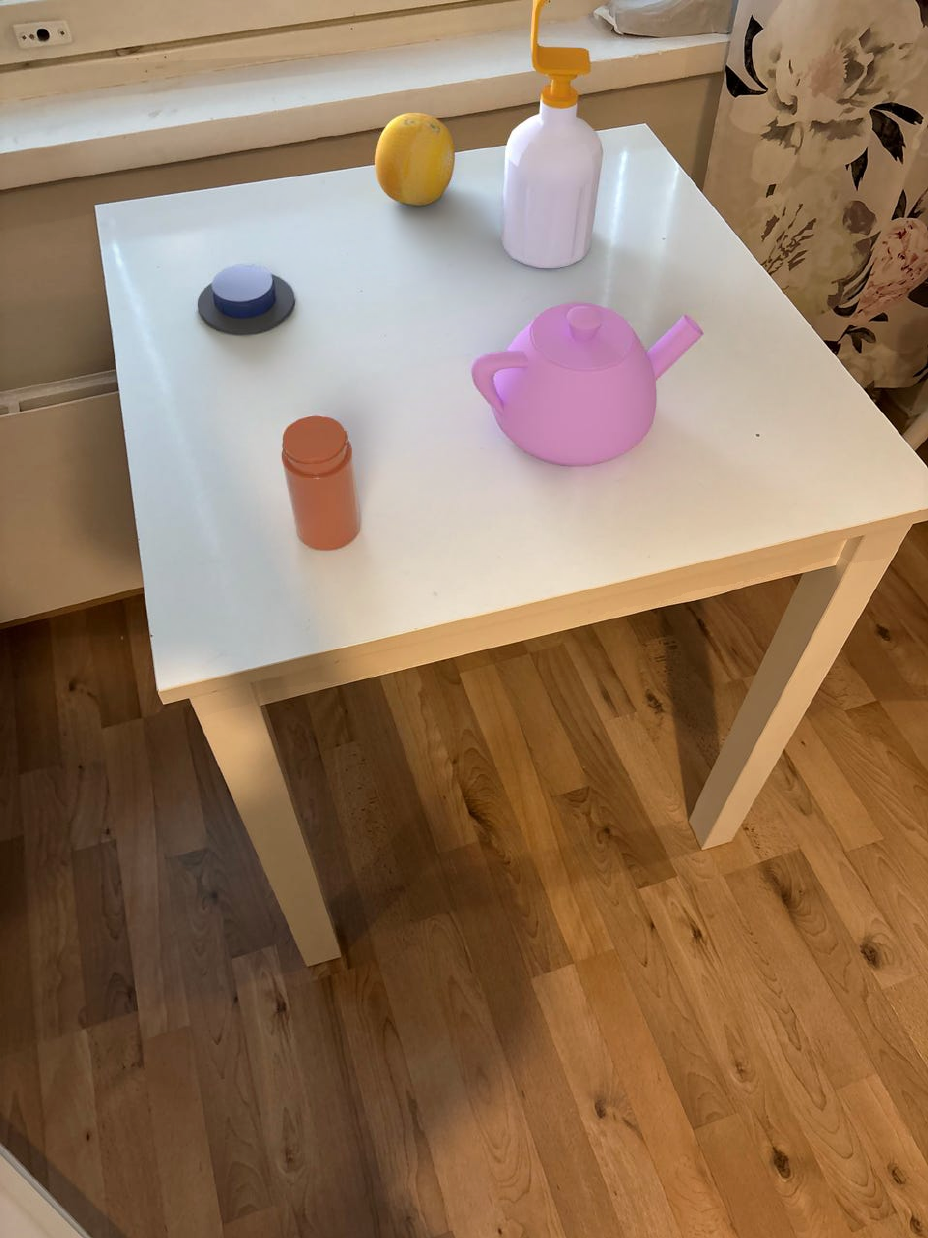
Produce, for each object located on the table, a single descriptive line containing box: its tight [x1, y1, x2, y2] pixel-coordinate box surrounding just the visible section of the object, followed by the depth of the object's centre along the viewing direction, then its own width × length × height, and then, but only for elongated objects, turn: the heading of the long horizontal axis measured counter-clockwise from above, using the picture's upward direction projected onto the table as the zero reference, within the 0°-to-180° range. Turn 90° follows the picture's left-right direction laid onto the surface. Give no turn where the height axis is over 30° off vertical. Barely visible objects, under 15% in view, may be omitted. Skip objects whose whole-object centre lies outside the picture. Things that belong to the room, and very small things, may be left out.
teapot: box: [470, 302, 705, 467], centre depth 77 cm, size 14×20×11 cm
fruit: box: [374, 112, 456, 207], centre depth 97 cm, size 9×8×8 cm
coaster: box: [197, 273, 296, 336], centre depth 90 cm, size 9×9×1 cm
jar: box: [281, 414, 361, 552], centre depth 70 cm, size 5×5×10 cm
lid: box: [211, 263, 276, 319], centre depth 89 cm, size 6×6×2 cm
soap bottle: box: [500, 0, 604, 269], centre depth 86 cm, size 9×9×25 cm
